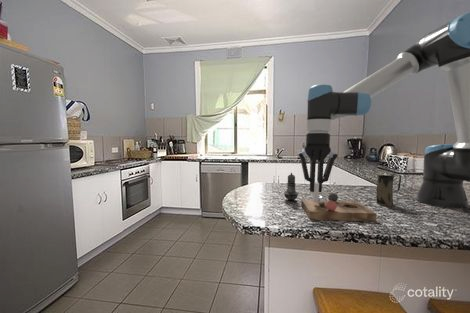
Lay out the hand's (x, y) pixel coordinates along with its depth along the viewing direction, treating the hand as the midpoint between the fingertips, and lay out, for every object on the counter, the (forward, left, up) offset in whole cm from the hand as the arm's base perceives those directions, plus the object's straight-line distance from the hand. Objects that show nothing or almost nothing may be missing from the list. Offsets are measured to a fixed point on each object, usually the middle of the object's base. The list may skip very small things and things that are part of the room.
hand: (315, 201), depth 78 cm
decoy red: (-4, +5, 0) cm, 7 cm away
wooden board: (-7, 0, -4) cm, 8 cm away
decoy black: (-8, -6, 0) cm, 9 cm away
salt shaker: (+6, -13, -4) cm, 15 cm away
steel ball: (-2, 0, 0) cm, 2 cm away
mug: (-31, -13, -4) cm, 34 cm away
